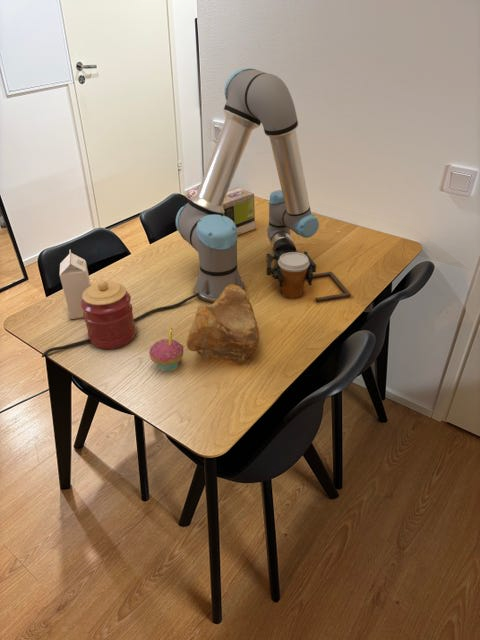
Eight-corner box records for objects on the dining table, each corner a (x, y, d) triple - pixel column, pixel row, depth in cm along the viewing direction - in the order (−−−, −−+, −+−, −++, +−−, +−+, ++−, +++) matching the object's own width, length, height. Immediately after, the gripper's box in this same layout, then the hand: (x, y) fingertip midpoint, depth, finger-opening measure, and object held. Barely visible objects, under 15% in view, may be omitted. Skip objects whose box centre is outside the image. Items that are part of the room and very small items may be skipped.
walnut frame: (316, 302, 150) (317, 299, 149) (299, 278, 162) (299, 276, 161) (350, 297, 152) (351, 294, 152) (331, 274, 164) (331, 271, 163)
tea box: (239, 221, 200) (238, 186, 191) (255, 229, 193) (255, 193, 185) (209, 232, 192) (207, 195, 183) (225, 240, 185) (224, 203, 177)
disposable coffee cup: (309, 286, 157) (312, 253, 150) (304, 302, 150) (307, 268, 143) (280, 283, 160) (281, 249, 153) (274, 298, 152) (275, 264, 145)
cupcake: (185, 354, 130) (182, 317, 123) (183, 376, 123) (179, 337, 116) (153, 355, 130) (147, 318, 123) (149, 377, 123) (143, 339, 116)
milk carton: (70, 319, 144) (56, 262, 133) (71, 307, 150) (56, 250, 139) (95, 316, 146) (83, 258, 135) (94, 303, 151) (82, 247, 140)
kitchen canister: (90, 354, 131) (76, 298, 121) (88, 326, 141) (75, 273, 131) (139, 345, 134) (130, 289, 124) (133, 319, 144) (125, 266, 134)
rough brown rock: (234, 388, 120) (238, 340, 112) (178, 363, 126) (178, 315, 118) (275, 340, 137) (282, 295, 129) (224, 319, 143) (227, 275, 135)
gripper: (313, 256, 168) (329, 290, 150) (252, 259, 167) (261, 294, 148) (315, 236, 164) (331, 269, 146) (252, 239, 163) (261, 273, 144)
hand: (295, 282), depth 147 cm, fingers closed on disposable coffee cup, 8 cm apart
